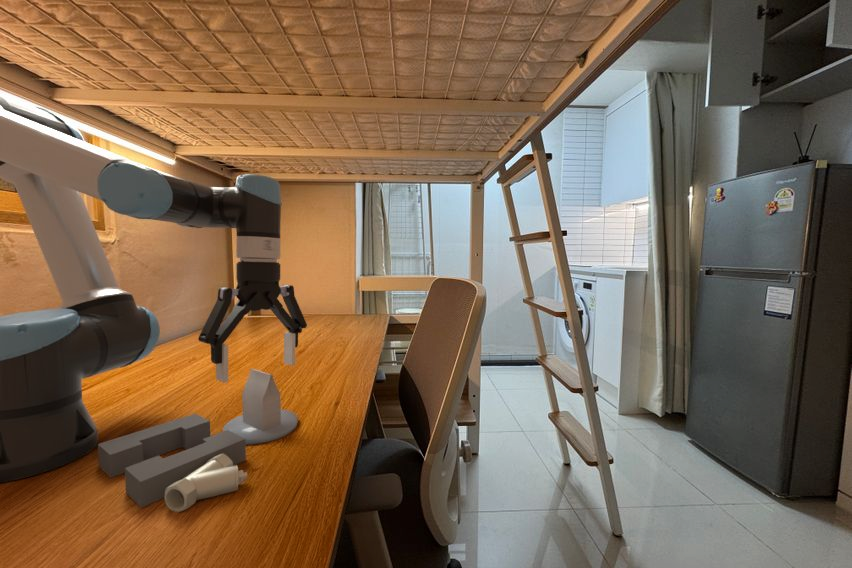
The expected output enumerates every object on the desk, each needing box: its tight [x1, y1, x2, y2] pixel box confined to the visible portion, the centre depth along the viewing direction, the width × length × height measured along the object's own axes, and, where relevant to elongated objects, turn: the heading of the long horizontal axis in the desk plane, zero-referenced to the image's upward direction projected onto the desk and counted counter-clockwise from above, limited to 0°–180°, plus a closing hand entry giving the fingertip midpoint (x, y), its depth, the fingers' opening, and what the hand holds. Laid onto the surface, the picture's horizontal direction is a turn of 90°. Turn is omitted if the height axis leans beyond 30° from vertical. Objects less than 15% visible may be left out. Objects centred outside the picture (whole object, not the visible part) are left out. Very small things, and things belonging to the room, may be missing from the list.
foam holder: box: [97, 413, 247, 509], centre depth 58 cm, size 17×14×4 cm
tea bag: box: [241, 368, 282, 431], centre depth 70 cm, size 4×7×10 cm, turn 55°
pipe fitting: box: [164, 454, 248, 513], centre depth 50 cm, size 8×4×7 cm
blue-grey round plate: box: [222, 409, 298, 446], centre depth 70 cm, size 13×13×1 cm
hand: (258, 371), depth 69 cm, fingers open, 13 cm apart
